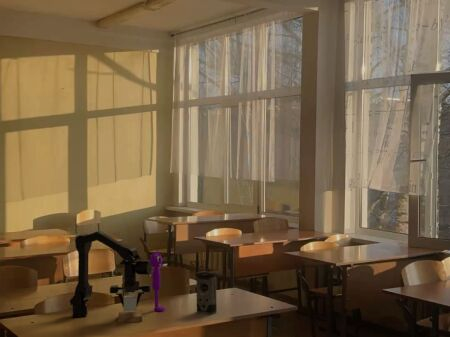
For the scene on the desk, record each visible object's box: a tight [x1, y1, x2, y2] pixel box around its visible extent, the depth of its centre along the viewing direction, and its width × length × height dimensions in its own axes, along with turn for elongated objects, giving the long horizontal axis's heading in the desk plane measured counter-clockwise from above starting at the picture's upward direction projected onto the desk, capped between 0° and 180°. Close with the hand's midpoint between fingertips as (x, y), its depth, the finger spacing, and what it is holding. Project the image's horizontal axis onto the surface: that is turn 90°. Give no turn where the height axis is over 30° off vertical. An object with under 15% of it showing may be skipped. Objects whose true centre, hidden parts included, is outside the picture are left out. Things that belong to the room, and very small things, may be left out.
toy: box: [149, 250, 168, 312], centre depth 308 cm, size 34×8×30 cm, turn 169°
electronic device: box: [195, 270, 218, 315], centre depth 303 cm, size 9×6×20 cm, turn 62°
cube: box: [123, 295, 138, 312], centre depth 291 cm, size 6×6×6 cm
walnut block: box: [117, 310, 143, 324], centre depth 290 cm, size 11×10×3 cm
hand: (130, 306), depth 291 cm, fingers closed on cube, 6 cm apart
